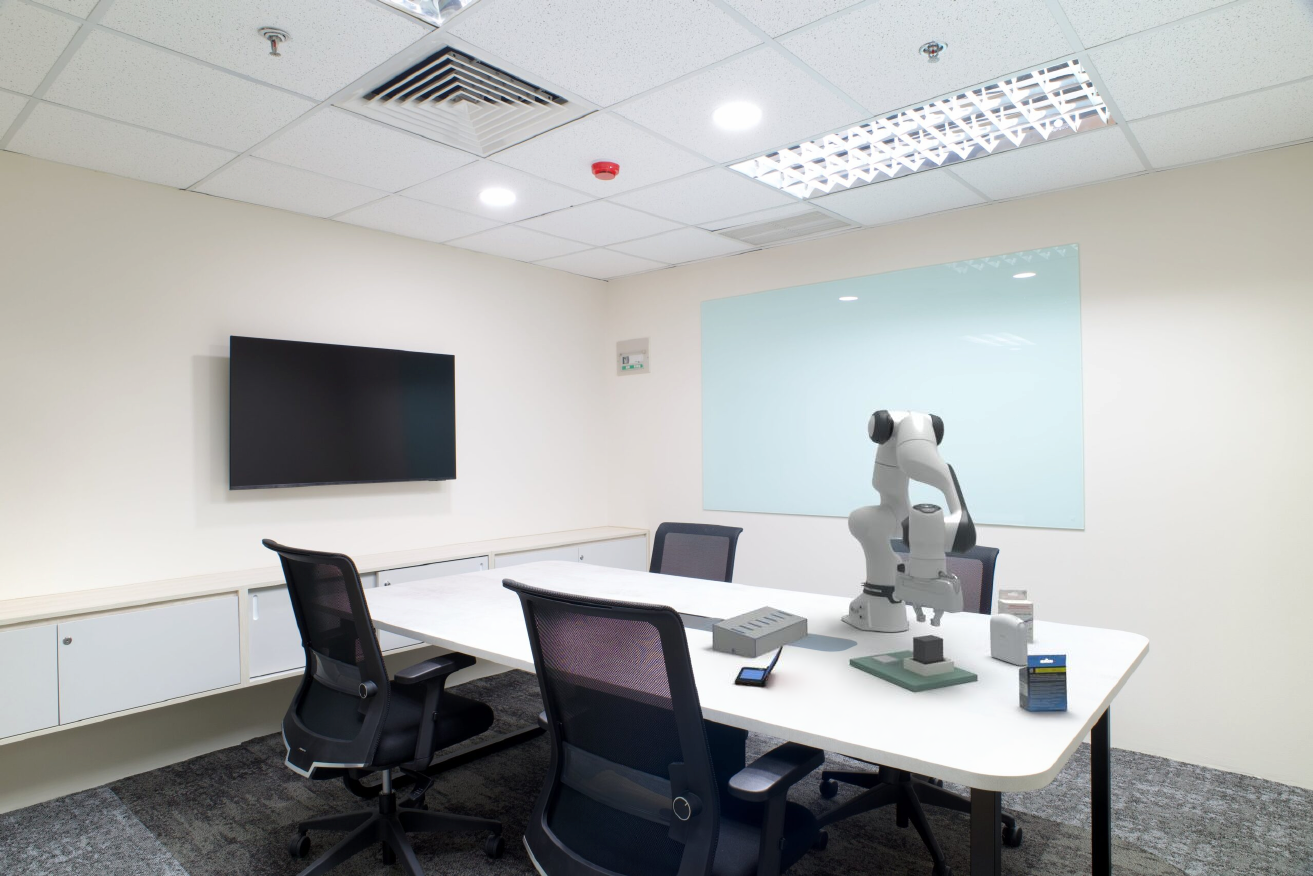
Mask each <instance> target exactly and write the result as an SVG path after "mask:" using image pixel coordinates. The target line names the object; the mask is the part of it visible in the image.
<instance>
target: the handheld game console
mask: <svg viewBox="0 0 1313 876" xmlns="http://www.w3.org/2000/svg"><path fill="white" fill-rule="evenodd" d="M783 647H784V646H781V647H780V648H778V651H777V652H776V653H775V656H774V657H773V658H772V660H771V662H770V664H769V665H767V666H766V667H752V666H742V667H741V668H740V670H739V672H738V674H737V676H736V678H735V680H734V684H735V685H736V686H745V687H756V688H757V687H758V688H765V687H766V683H767V682H768V681H767V679H768V678H769V676H770V675H771V674H772V673H771V672H772V671H773V669H774V668H775V666H776V665H777V663H778V661H779V660H780V659H779V658H780V656H781V654H782V650H783Z"/></svg>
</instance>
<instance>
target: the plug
mask: <svg viewBox="0 0 1313 876" xmlns="http://www.w3.org/2000/svg"><path fill="white" fill-rule="evenodd" d="M912 642H913V643H912V648H913V649H912V652H913V660H914V661H916V662H919V663H922V664H925V665H926V664H932V663H938V662H943V657H944V638H942V637H939V636H936V635H933V634H930V635H921V636H914V637H913V638H912Z"/></svg>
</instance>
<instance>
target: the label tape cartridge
mask: <svg viewBox="0 0 1313 876" xmlns="http://www.w3.org/2000/svg"><path fill="white" fill-rule="evenodd" d="M1046 660H1048V661H1052V662H1041V661H1046ZM1067 684H1068V683H1067V653H1066V654H1028V655H1027V664H1026V666H1024V667H1022V668H1019V669H1018V695H1019V696H1018V697H1019V698H1018V699H1019V700H1018V701H1019V704H1018V705H1019V707H1021V708H1022V709H1024V710H1026V711H1027V712H1043V711H1044V712H1045V711H1046V712H1047V711H1067V710H1068V688H1067Z"/></svg>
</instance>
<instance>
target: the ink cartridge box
mask: <svg viewBox="0 0 1313 876" xmlns="http://www.w3.org/2000/svg"><path fill="white" fill-rule="evenodd" d="M1012 593H1014V594H1017V595H1013V594H1012ZM1010 594H1011V595H1010ZM1027 597H1028V591H1027V589H1004V588H1003V589H999V590H998V601H997V614H1010V615H1013V616H1015V617H1017V618H1019V619H1021V620H1022V621H1024V622H1025V623H1026V626H1027V644H1029V643H1030V644H1031V643H1034V603H1033V602H1031V601H1029V600H1028V599H1027Z"/></svg>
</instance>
